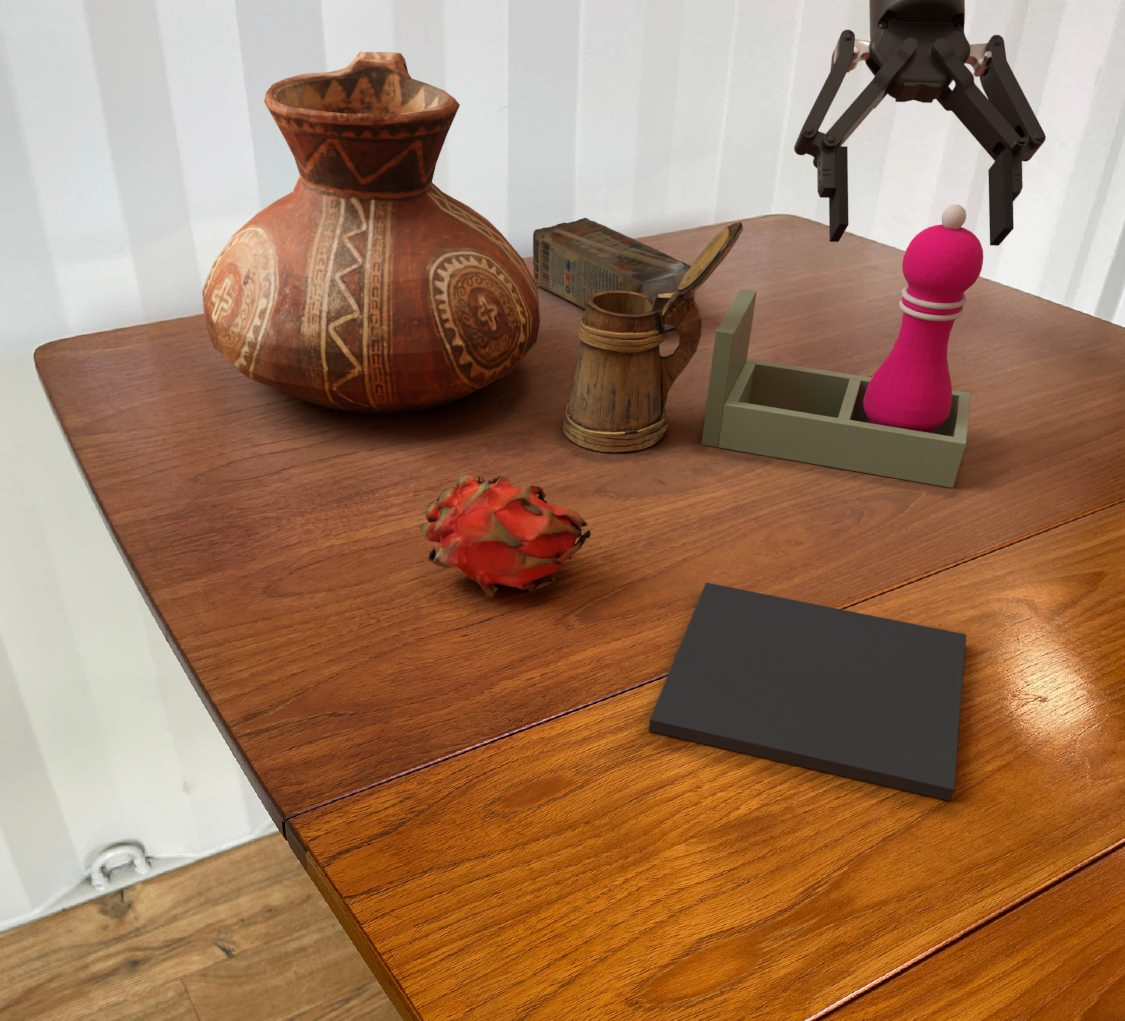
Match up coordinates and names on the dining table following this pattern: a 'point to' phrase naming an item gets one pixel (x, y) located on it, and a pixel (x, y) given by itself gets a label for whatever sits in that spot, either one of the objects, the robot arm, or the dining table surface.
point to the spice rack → (817, 414)
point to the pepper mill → (926, 327)
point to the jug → (369, 257)
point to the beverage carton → (600, 263)
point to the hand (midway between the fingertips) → (920, 236)
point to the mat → (818, 689)
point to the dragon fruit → (501, 533)
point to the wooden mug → (635, 358)
